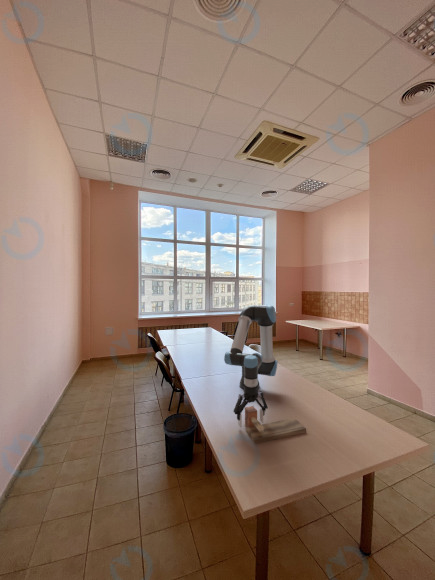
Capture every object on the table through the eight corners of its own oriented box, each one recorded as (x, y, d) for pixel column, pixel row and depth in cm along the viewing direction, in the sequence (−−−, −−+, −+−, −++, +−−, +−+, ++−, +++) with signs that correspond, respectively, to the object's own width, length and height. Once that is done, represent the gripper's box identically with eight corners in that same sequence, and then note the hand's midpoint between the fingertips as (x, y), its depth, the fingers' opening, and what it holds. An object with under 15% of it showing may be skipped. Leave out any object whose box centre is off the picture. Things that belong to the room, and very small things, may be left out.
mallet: (244, 425, 129) (244, 407, 129) (253, 423, 131) (253, 406, 130) (257, 442, 115) (257, 422, 115) (266, 440, 116) (266, 421, 116)
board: (246, 431, 124) (246, 427, 124) (294, 421, 132) (294, 417, 132) (254, 443, 114) (254, 439, 114) (306, 432, 123) (306, 428, 123)
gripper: (232, 390, 120) (232, 431, 120) (274, 384, 127) (274, 423, 127) (227, 384, 127) (227, 423, 127) (267, 379, 134) (267, 415, 135)
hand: (250, 423), depth 127 cm, fingers open, 12 cm apart
